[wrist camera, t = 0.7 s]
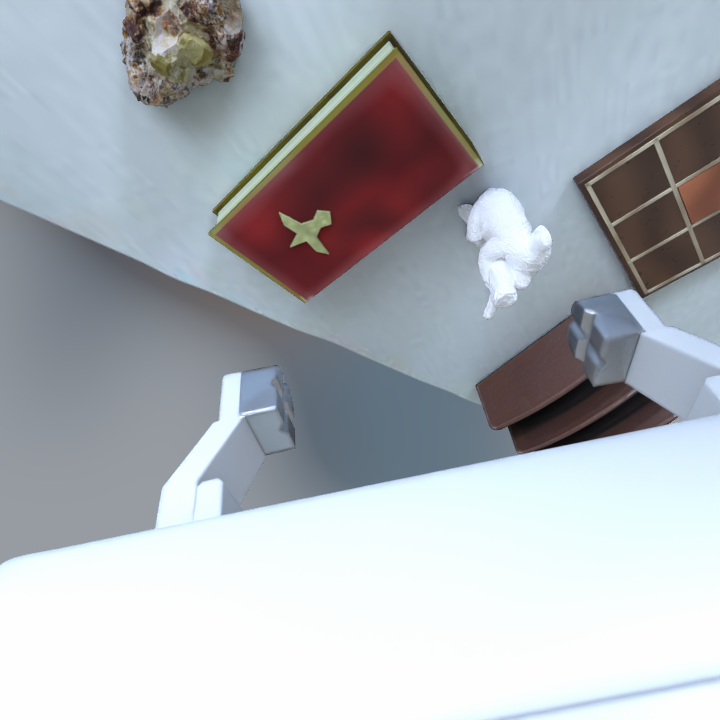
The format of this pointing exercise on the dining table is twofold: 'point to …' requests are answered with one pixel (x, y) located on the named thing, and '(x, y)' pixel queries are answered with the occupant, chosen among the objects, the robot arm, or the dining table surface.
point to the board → (662, 194)
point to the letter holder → (561, 399)
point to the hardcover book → (347, 175)
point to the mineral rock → (179, 46)
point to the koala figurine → (504, 245)
